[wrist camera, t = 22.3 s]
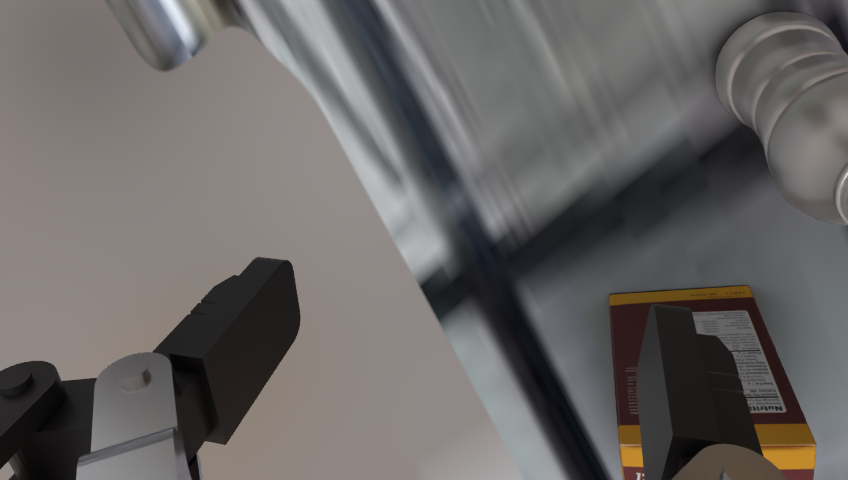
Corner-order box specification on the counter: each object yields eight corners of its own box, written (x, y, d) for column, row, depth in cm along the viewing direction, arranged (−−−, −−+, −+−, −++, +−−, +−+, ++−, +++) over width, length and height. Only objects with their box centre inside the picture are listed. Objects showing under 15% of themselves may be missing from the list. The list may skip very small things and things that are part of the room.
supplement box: (622, 430, 55) (635, 600, 42) (607, 292, 48) (617, 445, 35) (748, 430, 52) (804, 614, 39) (750, 283, 45) (820, 446, 32)
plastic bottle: (811, -16, 35) (1025, 79, 18) (834, 90, 37) (1041, 259, 21) (695, 32, 37) (787, 154, 21) (723, 128, 40) (827, 306, 23)
